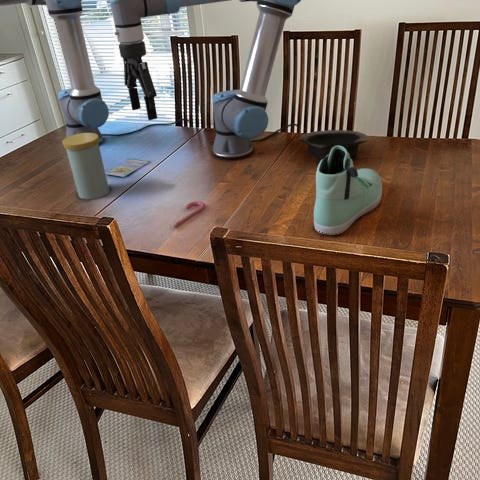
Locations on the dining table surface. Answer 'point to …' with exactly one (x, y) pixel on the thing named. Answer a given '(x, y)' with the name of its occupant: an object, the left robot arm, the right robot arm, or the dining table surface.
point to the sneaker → (343, 192)
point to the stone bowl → (333, 142)
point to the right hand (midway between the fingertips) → (144, 114)
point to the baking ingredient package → (126, 167)
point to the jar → (88, 172)
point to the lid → (80, 141)
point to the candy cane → (194, 213)
